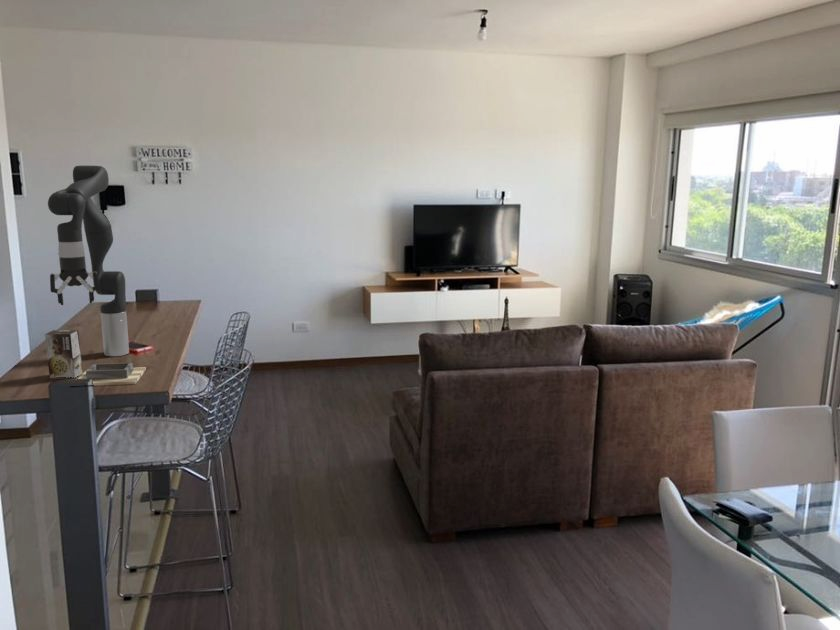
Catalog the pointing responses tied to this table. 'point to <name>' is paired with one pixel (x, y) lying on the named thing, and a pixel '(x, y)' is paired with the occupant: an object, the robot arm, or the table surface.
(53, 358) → the coffee box
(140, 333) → the table surface
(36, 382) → the table surface
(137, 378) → the mount plate
